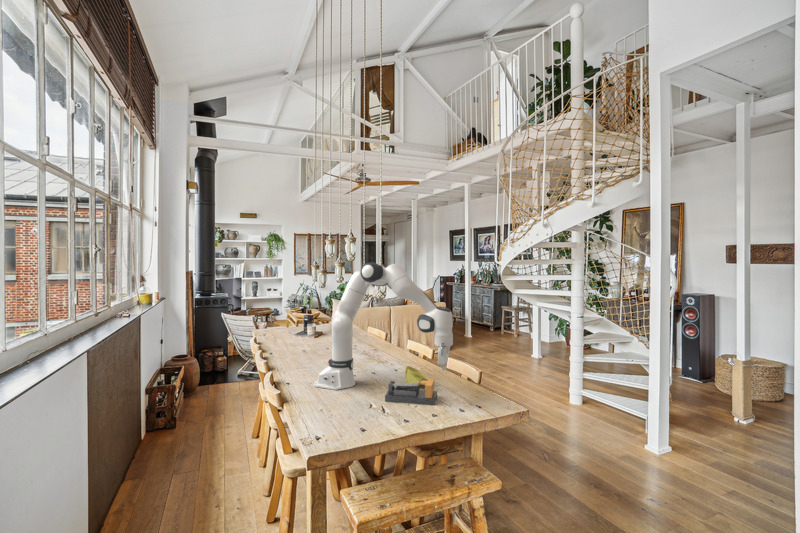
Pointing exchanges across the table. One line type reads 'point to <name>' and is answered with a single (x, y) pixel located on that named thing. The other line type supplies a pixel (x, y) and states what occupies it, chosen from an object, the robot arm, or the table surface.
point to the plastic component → (414, 375)
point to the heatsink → (408, 395)
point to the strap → (404, 384)
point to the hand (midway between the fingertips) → (443, 369)
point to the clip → (428, 387)
